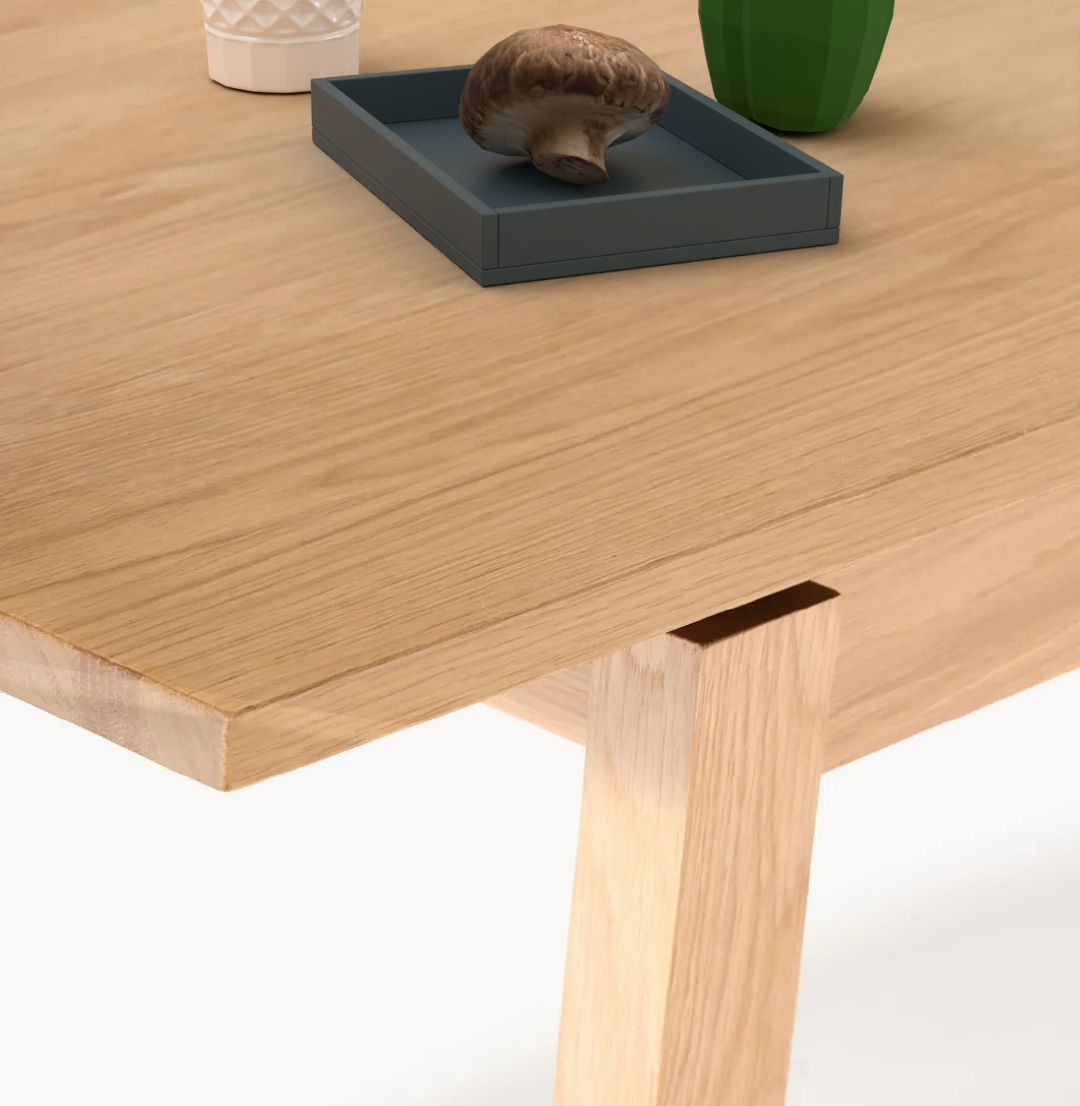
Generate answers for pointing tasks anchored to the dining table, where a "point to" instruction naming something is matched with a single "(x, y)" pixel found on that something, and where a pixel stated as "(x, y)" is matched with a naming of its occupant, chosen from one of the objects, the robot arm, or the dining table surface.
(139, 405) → the dining table surface
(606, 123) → the mushroom
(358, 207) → the dining table surface
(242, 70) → the white cup
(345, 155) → the tray
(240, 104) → the dining table surface
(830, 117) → the bell pepper
